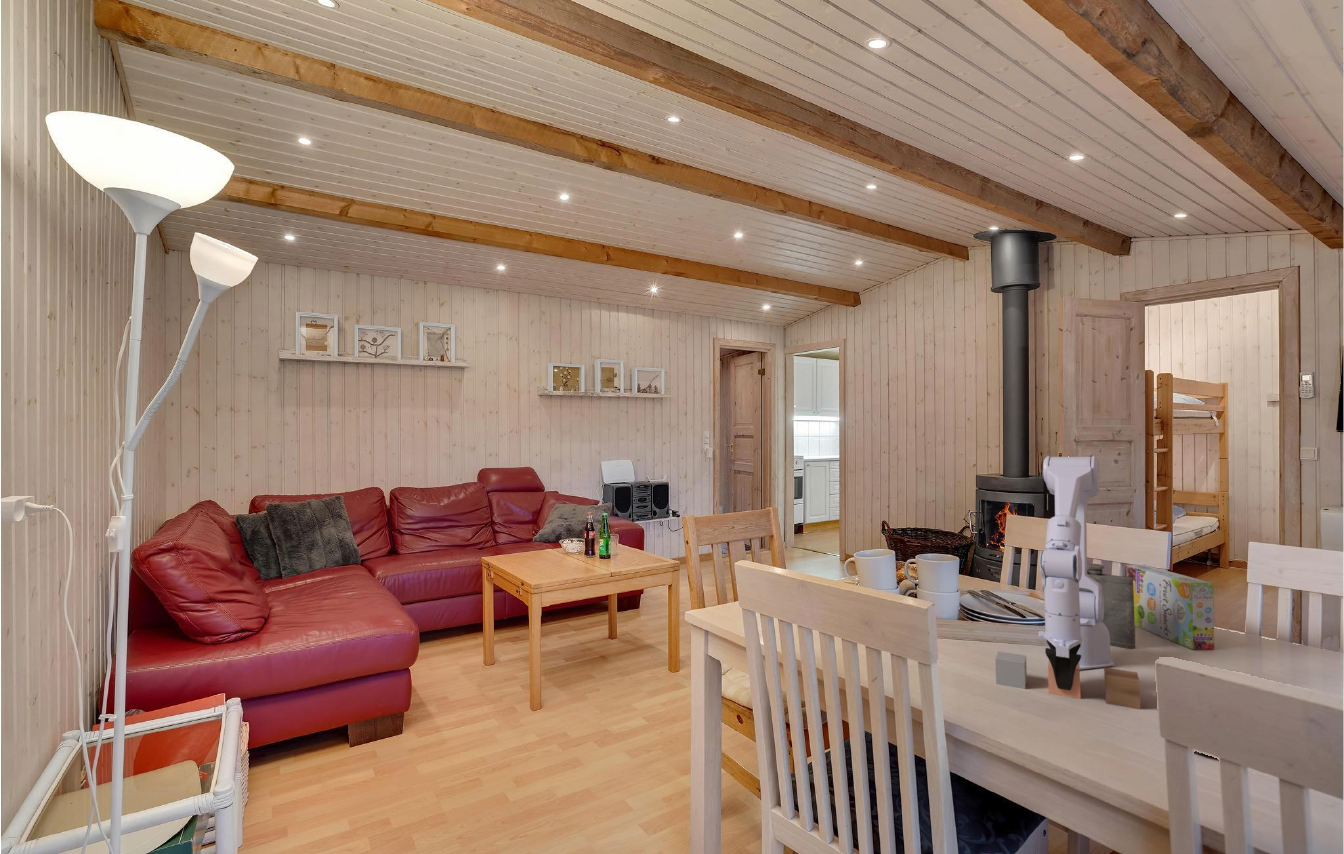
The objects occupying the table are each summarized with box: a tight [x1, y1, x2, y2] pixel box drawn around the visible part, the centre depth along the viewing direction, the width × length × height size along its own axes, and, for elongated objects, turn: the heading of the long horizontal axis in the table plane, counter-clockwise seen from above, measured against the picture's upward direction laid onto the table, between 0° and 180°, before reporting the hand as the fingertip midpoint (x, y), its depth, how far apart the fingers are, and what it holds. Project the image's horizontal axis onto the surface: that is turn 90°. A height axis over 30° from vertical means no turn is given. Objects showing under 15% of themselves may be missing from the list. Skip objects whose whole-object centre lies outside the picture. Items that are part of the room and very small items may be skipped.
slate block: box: [995, 651, 1028, 690], centre depth 123 cm, size 5×5×5 cm
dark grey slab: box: [1079, 563, 1136, 650], centre depth 146 cm, size 4×14×18 cm, turn 36°
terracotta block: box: [1047, 660, 1081, 700], centre depth 118 cm, size 5×5×5 cm
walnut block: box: [1103, 667, 1141, 710], centre depth 113 cm, size 5×5×5 cm
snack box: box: [1124, 564, 1215, 651], centre depth 149 cm, size 21×6×15 cm, turn 179°
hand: (1064, 683), depth 118 cm, fingers closed on terracotta block, 5 cm apart
